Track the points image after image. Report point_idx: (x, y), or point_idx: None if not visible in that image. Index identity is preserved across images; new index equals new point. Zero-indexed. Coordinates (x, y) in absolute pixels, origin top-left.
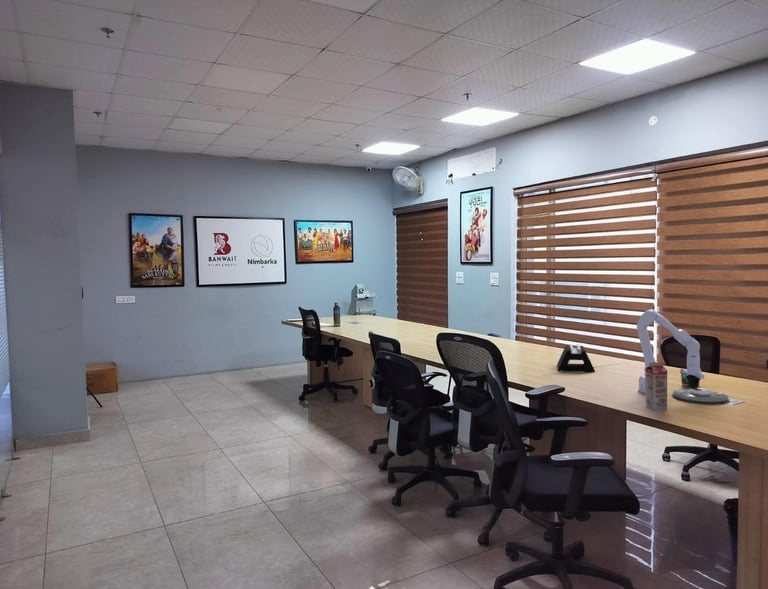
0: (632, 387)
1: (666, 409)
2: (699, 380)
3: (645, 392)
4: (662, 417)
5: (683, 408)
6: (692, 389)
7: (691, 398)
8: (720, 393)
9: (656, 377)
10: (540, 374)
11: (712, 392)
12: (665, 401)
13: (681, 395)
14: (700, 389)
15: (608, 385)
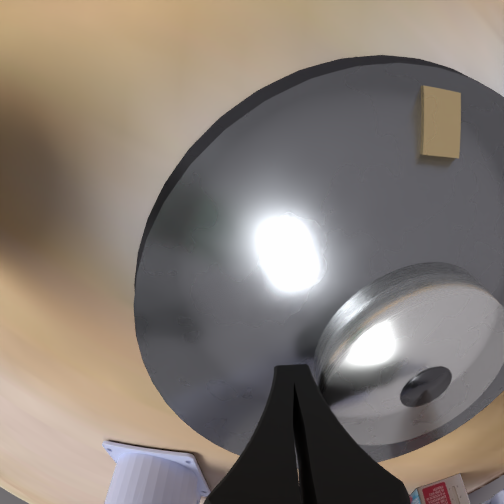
0: (72, 462)
1: (459, 475)
2: (377, 465)
3: (200, 495)
4: (491, 474)
5: (482, 442)
6: (381, 435)
7: (453, 425)
8: (447, 107)
9: None
10: (9, 485)
11: (359, 155)
12: (465, 498)
13: (369, 452)
14: (424, 388)
15: (68, 484)
